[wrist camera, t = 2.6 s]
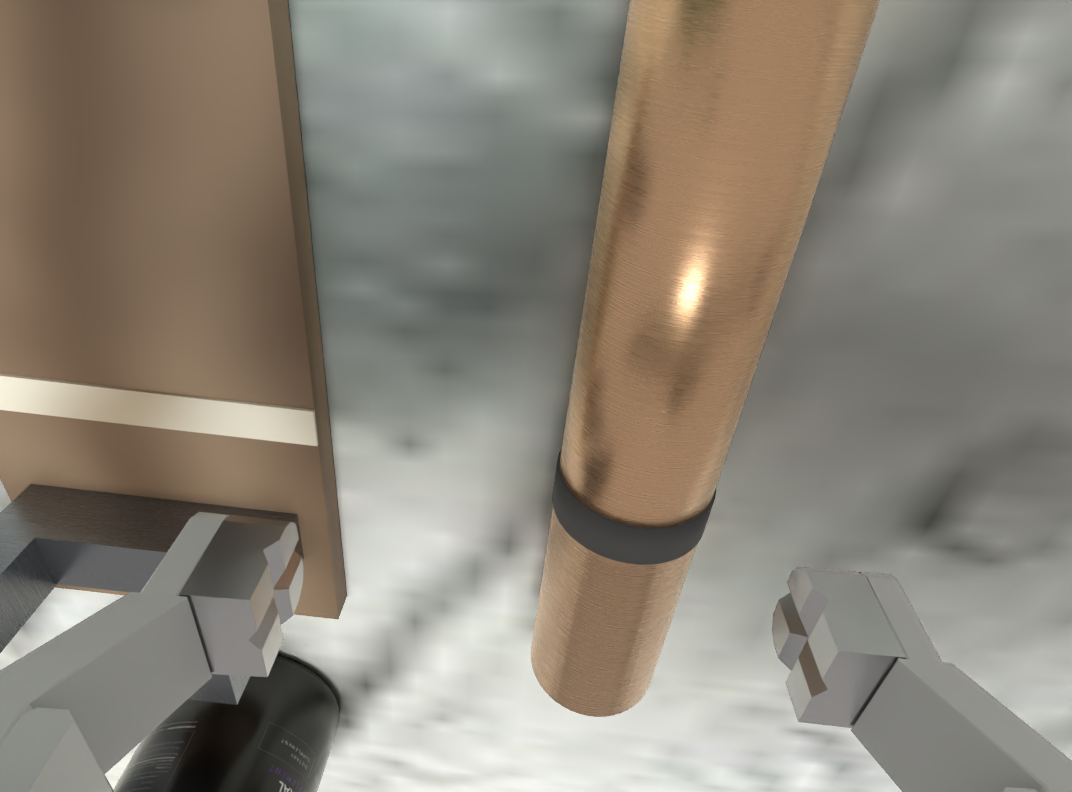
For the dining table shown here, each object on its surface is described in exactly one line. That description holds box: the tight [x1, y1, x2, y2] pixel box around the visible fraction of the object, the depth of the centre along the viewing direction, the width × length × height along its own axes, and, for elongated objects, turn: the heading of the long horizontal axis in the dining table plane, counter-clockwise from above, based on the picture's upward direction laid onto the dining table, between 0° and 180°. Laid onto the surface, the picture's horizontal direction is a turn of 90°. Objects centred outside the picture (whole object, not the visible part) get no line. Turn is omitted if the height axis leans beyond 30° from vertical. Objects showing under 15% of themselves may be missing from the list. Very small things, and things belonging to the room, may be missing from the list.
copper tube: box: [531, 0, 880, 717], centre depth 15 cm, size 22×4×4 cm
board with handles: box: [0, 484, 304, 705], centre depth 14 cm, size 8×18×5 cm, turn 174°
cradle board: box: [0, 0, 347, 619], centre depth 17 cm, size 10×24×1 cm, turn 174°
